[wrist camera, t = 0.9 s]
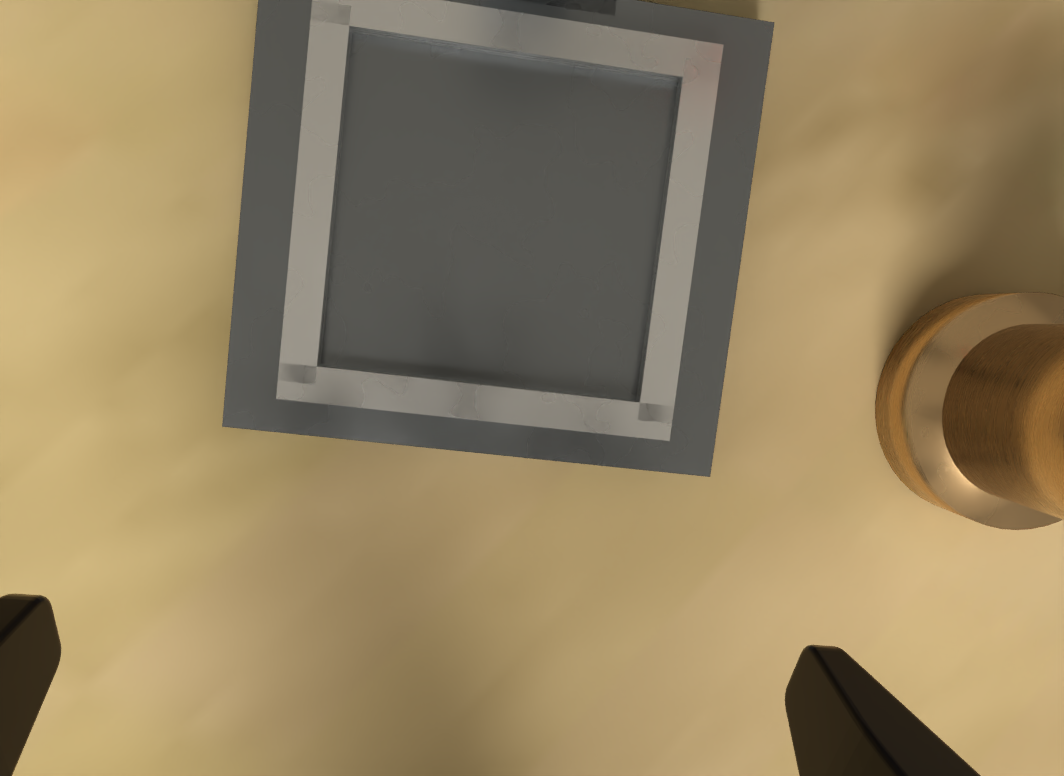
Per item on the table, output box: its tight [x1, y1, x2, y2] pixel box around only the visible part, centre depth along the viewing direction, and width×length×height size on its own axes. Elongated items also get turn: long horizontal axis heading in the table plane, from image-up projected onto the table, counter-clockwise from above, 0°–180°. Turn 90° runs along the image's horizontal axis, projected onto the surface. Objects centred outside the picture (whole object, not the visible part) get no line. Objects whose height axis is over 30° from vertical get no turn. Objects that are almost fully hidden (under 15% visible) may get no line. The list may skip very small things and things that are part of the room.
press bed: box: [222, 0, 774, 477], centre depth 16 cm, size 17×16×13 cm
